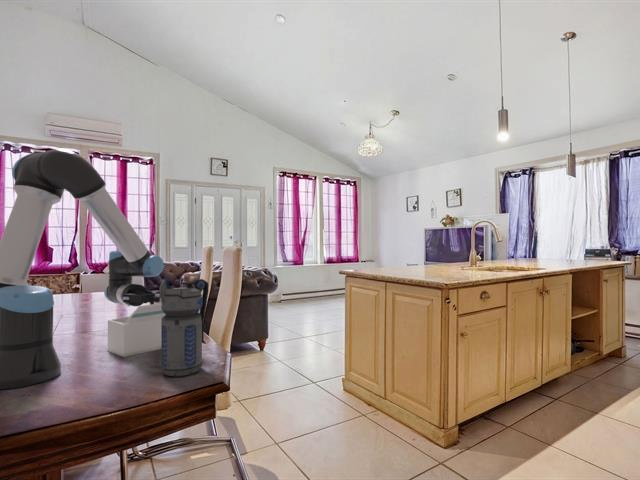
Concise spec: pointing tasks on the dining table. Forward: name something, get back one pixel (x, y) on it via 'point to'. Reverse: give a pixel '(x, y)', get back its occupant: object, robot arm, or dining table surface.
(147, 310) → the lid
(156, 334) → the box
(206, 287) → the beverage bottle
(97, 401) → the dining table surface
